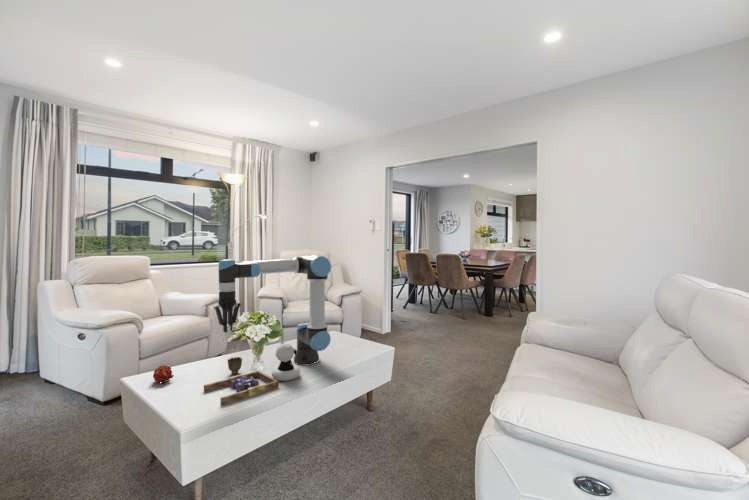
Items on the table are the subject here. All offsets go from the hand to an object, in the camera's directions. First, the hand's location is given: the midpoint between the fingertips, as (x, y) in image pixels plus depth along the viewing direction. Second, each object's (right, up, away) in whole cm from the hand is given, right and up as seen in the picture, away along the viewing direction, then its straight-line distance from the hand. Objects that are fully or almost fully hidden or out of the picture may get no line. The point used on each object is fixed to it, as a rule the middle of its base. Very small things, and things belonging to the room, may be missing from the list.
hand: (227, 338), depth 173 cm
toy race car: (+8, -25, -1) cm, 26 cm away
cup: (-4, -24, +18) cm, 30 cm away
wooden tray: (+8, -24, -3) cm, 26 cm away
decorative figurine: (+25, -24, +13) cm, 38 cm away
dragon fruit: (-35, -24, +5) cm, 43 cm away
